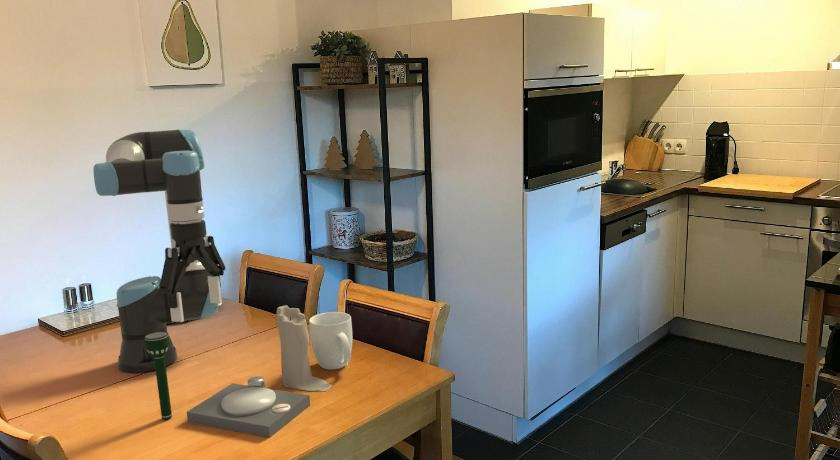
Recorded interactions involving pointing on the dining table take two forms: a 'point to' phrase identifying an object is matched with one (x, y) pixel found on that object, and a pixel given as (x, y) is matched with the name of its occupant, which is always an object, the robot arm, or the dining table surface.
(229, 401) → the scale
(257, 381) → the spacer
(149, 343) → the flashlight
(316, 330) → the mug
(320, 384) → the candle
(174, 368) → the dining table surface
